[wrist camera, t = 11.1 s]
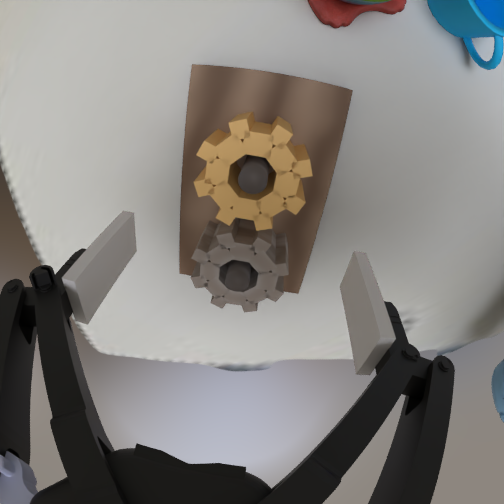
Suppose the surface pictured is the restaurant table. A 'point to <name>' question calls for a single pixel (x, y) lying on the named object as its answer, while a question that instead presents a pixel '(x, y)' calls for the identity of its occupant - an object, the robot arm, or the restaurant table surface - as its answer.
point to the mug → (473, 24)
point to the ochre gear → (227, 171)
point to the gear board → (266, 106)
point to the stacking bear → (351, 9)
